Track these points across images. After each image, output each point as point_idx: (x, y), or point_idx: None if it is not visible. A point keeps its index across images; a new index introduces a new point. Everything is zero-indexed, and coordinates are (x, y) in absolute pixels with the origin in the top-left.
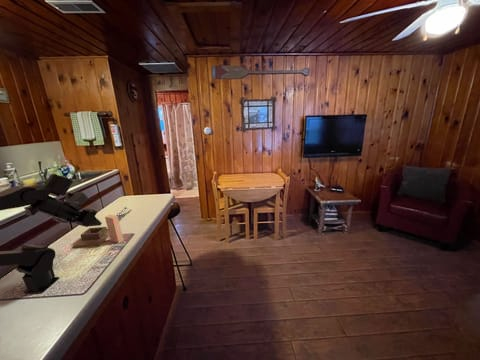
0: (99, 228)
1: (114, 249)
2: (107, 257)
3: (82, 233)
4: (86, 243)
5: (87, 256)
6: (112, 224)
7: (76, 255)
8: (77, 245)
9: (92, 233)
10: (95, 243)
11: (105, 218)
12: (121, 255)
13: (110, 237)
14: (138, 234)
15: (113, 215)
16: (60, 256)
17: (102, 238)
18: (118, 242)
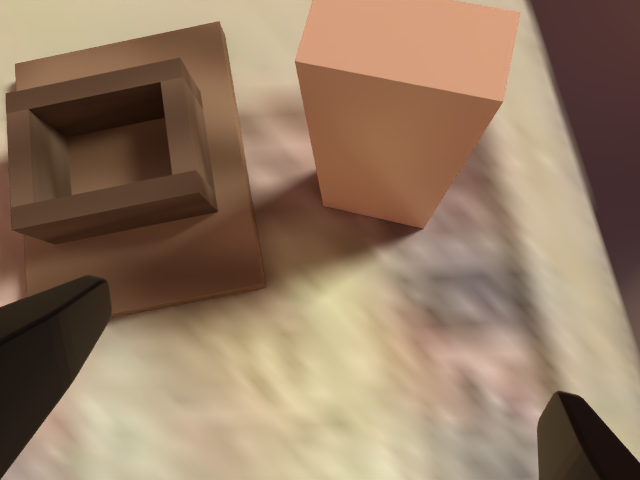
0: (123, 91)
1: (462, 327)
2: (494, 450)
3: (12, 200)
4: (137, 286)
5: (284, 444)
6: (432, 147)
7: (165, 435)
8: None
9: (127, 193)
10: (229, 280)
11: (304, 79)
12: (609, 413)
13: (326, 194)
14: (512, 84)
15: (419, 1)
16: (26, 457)
17: (233, 197)
18: (423, 227)
